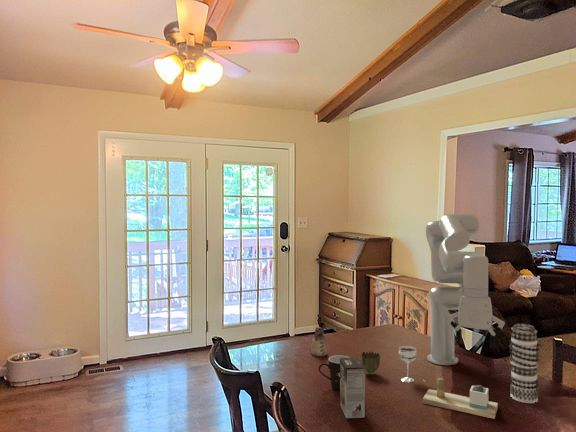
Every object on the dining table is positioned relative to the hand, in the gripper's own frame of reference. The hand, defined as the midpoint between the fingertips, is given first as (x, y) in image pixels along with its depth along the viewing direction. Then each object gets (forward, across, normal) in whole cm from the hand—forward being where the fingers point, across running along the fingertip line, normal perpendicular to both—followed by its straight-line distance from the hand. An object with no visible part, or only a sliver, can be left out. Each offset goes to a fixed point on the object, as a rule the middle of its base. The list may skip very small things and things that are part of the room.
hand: (475, 344), depth 144 cm
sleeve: (+19, +2, -2) cm, 19 cm away
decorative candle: (+21, +14, +15) cm, 29 cm away
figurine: (+22, -68, +21) cm, 75 cm away
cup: (+21, -39, +9) cm, 46 cm away
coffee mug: (+21, -46, -8) cm, 52 cm away
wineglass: (+21, -25, +11) cm, 35 cm away
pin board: (+21, -4, -2) cm, 21 cm away
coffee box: (+21, -34, -24) cm, 46 cm away
